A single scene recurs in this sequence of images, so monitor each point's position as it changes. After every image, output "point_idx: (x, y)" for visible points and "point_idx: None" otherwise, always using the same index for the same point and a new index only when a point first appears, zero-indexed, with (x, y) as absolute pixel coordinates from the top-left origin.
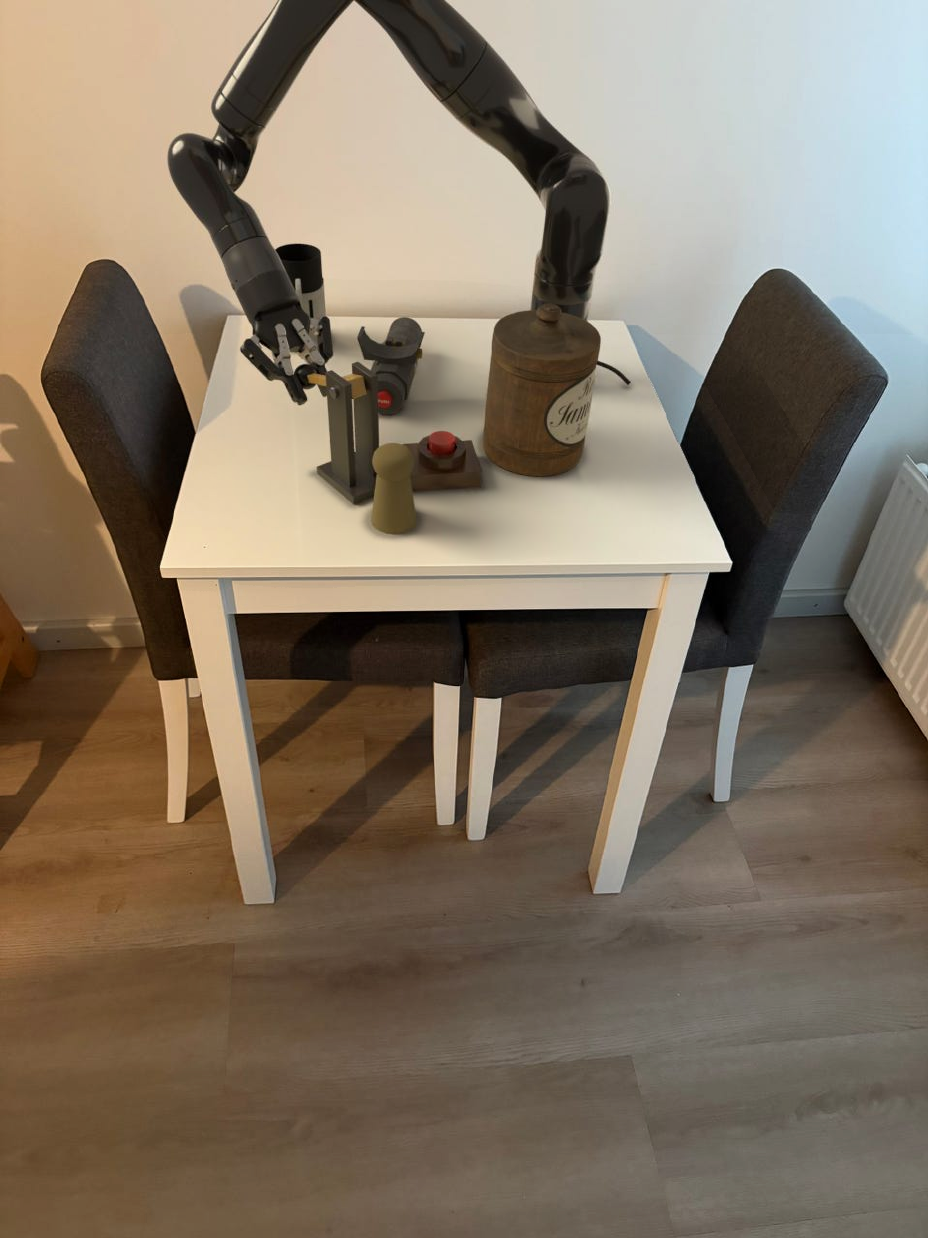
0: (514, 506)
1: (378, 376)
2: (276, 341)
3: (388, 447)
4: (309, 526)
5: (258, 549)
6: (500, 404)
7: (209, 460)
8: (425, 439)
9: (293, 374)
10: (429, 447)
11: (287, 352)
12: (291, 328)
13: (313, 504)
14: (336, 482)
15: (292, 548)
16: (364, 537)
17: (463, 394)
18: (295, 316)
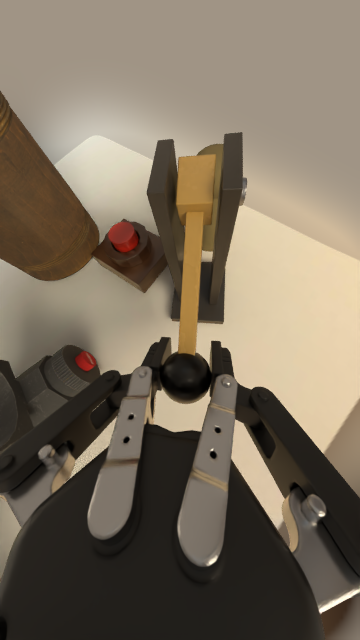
0: (131, 206)
1: (58, 380)
2: (229, 480)
3: (218, 156)
4: (274, 265)
5: (333, 265)
6: (51, 189)
7: (317, 433)
8: (127, 255)
9: (206, 392)
10: (135, 243)
11: (215, 413)
12: (140, 505)
13: (254, 287)
14: (223, 288)
15: (303, 251)
16: (243, 232)
17: (17, 342)
18: (69, 572)
